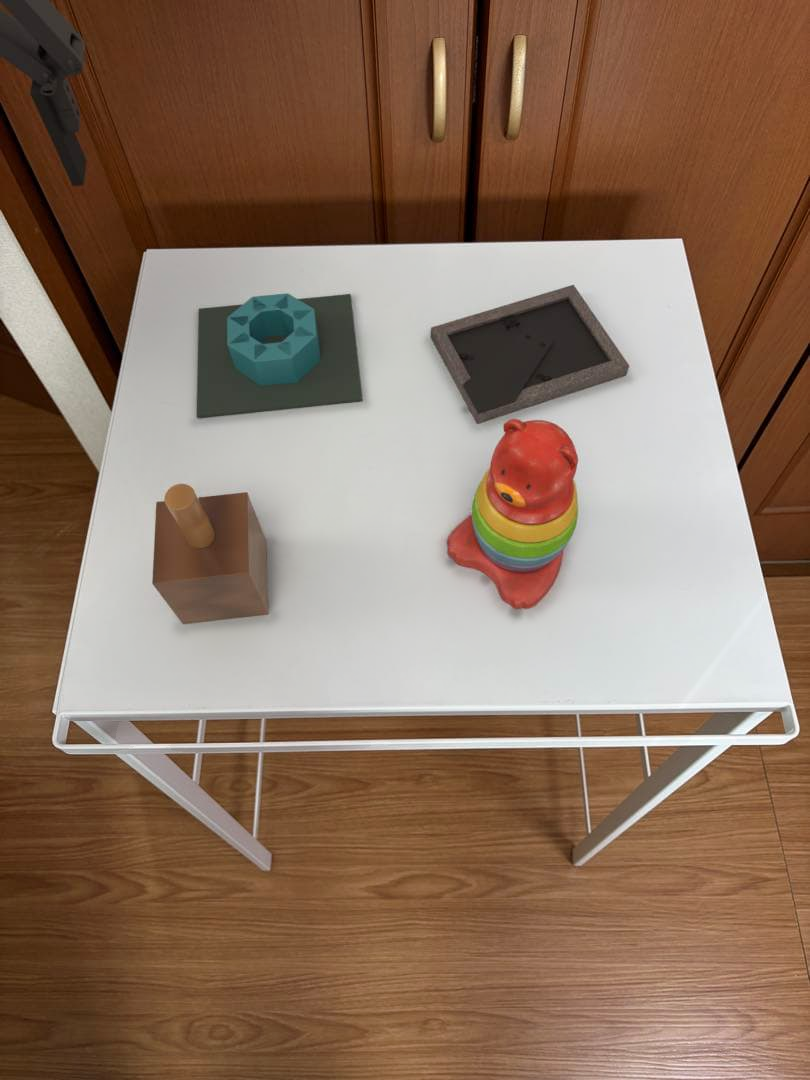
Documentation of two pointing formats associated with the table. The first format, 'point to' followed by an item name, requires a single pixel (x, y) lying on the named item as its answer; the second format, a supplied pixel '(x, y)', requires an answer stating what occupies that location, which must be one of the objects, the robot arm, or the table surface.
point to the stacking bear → (522, 512)
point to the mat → (239, 394)
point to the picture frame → (527, 353)
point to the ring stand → (209, 556)
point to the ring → (273, 320)
